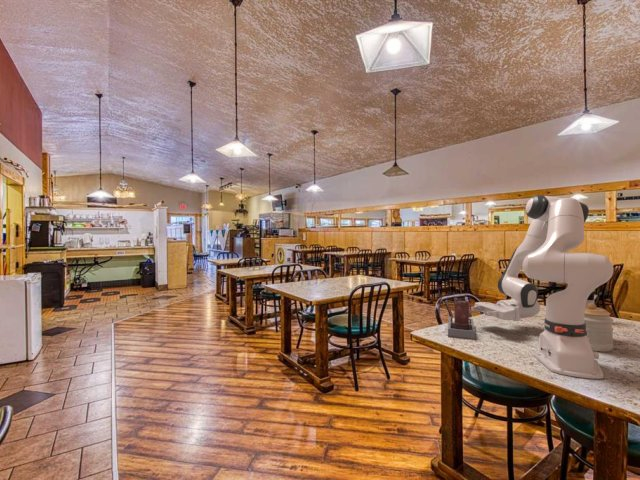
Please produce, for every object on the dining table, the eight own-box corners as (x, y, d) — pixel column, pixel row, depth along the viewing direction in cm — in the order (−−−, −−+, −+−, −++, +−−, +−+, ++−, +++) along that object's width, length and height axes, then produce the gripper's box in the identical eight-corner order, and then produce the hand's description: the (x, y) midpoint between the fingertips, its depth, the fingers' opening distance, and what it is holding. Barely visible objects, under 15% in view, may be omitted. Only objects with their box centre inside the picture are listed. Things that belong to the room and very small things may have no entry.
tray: (475, 339, 139) (475, 331, 139) (448, 336, 143) (447, 328, 143) (472, 325, 159) (472, 318, 159) (449, 323, 164) (449, 316, 164)
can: (471, 333, 144) (471, 302, 144) (457, 333, 145) (456, 302, 145) (466, 329, 150) (466, 299, 150) (452, 329, 151) (452, 299, 151)
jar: (568, 346, 129) (569, 303, 128) (573, 338, 138) (573, 298, 138) (612, 355, 120) (613, 308, 119) (613, 346, 129) (614, 302, 129)
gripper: (489, 298, 160) (464, 299, 158) (522, 307, 140) (494, 309, 138) (489, 311, 161) (464, 312, 158) (522, 322, 141) (494, 324, 138)
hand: (478, 311), depth 148 cm, fingers open, 8 cm apart
